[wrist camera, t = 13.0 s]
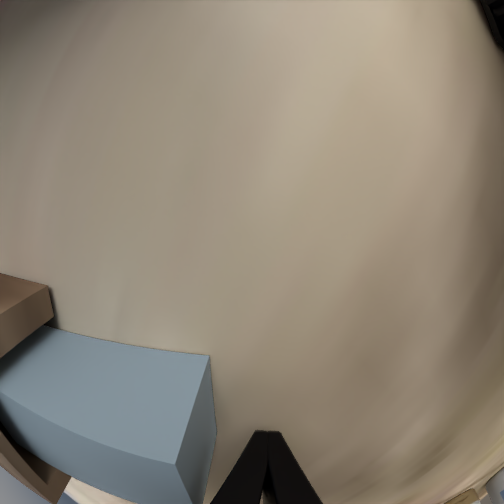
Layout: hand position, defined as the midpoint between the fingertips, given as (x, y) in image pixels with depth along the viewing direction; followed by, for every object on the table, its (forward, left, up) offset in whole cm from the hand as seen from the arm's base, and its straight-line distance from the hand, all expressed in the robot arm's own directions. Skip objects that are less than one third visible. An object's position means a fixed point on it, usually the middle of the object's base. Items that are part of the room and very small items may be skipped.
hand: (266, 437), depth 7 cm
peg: (+6, 0, -1) cm, 6 cm away
